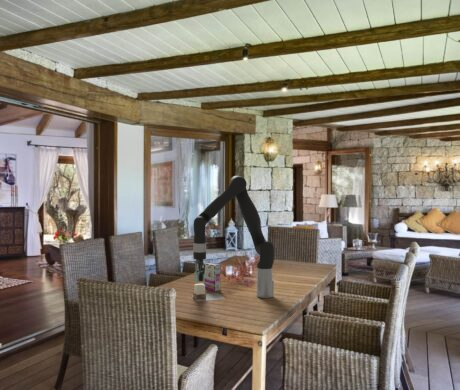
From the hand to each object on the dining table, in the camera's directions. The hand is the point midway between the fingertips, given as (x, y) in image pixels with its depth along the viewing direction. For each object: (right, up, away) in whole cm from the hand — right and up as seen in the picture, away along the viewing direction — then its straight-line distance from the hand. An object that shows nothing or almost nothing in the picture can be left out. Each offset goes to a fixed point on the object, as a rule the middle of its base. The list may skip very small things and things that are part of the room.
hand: (199, 280), depth 232 cm
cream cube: (0, -8, 0) cm, 8 cm away
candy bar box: (+6, -11, +22) cm, 26 cm away
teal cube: (0, 0, 0) cm, 0 cm away
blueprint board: (+5, -11, +3) cm, 12 cm away
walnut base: (0, -11, 0) cm, 11 cm away
